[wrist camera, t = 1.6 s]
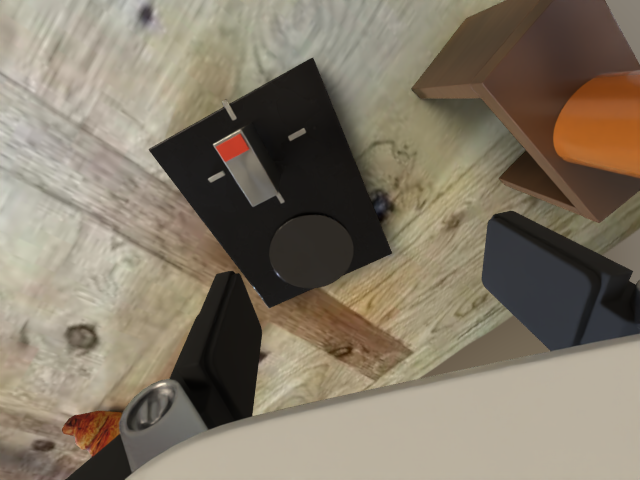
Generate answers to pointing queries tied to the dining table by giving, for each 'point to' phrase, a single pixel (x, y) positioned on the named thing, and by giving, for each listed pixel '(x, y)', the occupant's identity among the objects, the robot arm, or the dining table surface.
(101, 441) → the croissant
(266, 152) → the hob knob
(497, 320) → the dining table surface
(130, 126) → the dining table surface
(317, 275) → the disc
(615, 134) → the spice bottle
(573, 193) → the shelf
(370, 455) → the robot arm
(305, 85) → the hob
